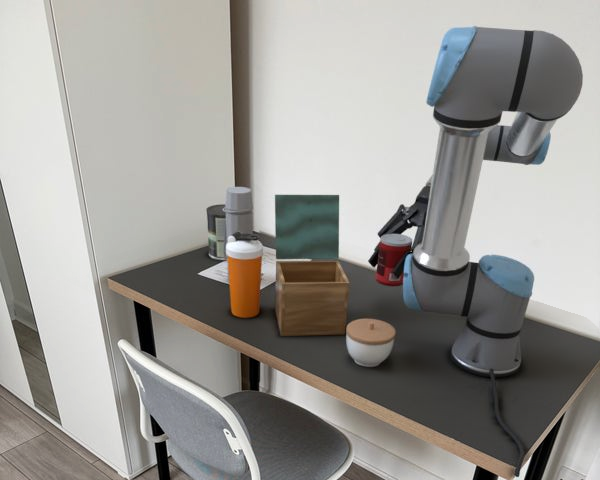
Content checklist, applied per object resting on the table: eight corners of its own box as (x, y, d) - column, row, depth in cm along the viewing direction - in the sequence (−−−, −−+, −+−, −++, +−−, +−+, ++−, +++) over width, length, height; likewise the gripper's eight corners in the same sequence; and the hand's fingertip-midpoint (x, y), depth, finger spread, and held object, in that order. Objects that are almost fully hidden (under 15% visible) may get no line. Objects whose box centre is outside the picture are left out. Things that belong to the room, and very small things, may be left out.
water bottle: (259, 279, 168) (259, 189, 154) (242, 288, 162) (240, 195, 148) (233, 271, 172) (231, 183, 158) (216, 280, 166) (212, 189, 152)
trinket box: (353, 344, 138) (357, 307, 132) (397, 355, 134) (403, 318, 129) (336, 364, 130) (339, 326, 124) (382, 377, 126) (387, 338, 121)
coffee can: (202, 256, 180) (199, 210, 172) (219, 246, 188) (217, 202, 180) (231, 262, 177) (230, 216, 169) (247, 252, 185) (247, 207, 177)
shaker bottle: (257, 321, 145) (257, 243, 134) (223, 317, 147) (220, 238, 136) (266, 306, 153) (267, 231, 142) (233, 302, 154) (231, 227, 143)
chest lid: (339, 194, 142) (338, 195, 142) (275, 194, 139) (274, 194, 140) (338, 258, 145) (338, 258, 146) (276, 259, 143) (275, 259, 144)
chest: (344, 334, 142) (349, 282, 134) (280, 336, 140) (282, 283, 132) (334, 309, 153) (338, 260, 146) (275, 310, 151) (276, 261, 144)
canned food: (412, 281, 149) (418, 239, 143) (393, 289, 144) (400, 246, 138) (387, 272, 154) (393, 231, 147) (369, 280, 149) (374, 238, 142)
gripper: (474, 214, 141) (419, 291, 141) (411, 194, 154) (361, 265, 154) (465, 194, 135) (407, 274, 136) (400, 175, 148) (348, 249, 149)
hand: (383, 269), depth 145 cm, fingers closed on canned food, 8 cm apart
